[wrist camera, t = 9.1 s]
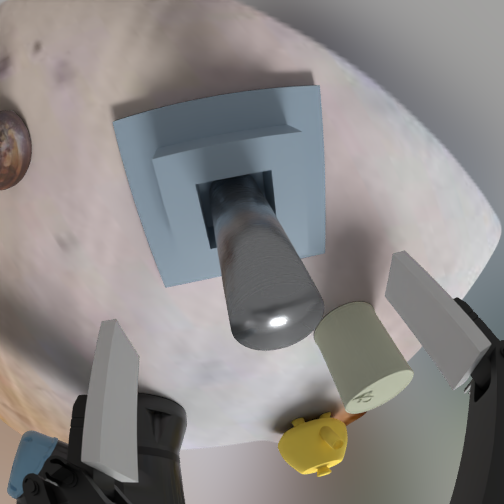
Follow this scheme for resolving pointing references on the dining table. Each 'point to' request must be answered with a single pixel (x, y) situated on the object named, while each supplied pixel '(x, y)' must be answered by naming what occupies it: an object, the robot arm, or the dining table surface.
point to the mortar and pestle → (13, 149)
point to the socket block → (224, 171)
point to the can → (361, 357)
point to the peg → (260, 269)
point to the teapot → (314, 444)
